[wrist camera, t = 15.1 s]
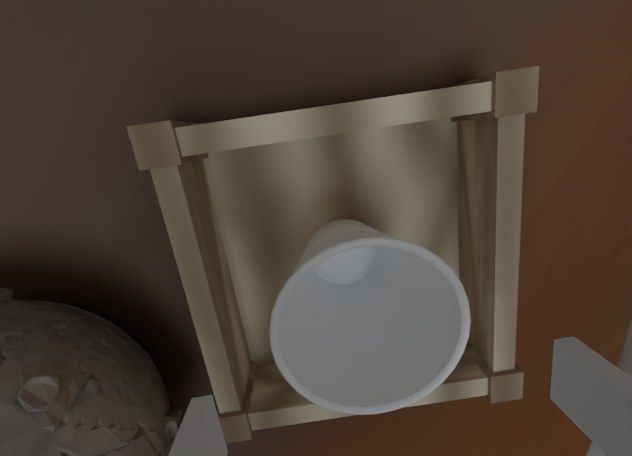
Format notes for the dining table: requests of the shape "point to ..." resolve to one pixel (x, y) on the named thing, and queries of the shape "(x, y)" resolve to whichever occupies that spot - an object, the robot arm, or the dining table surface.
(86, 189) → the dining table surface
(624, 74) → the dining table surface
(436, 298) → the cup
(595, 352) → the robot arm
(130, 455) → the bowl
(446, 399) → the crate
